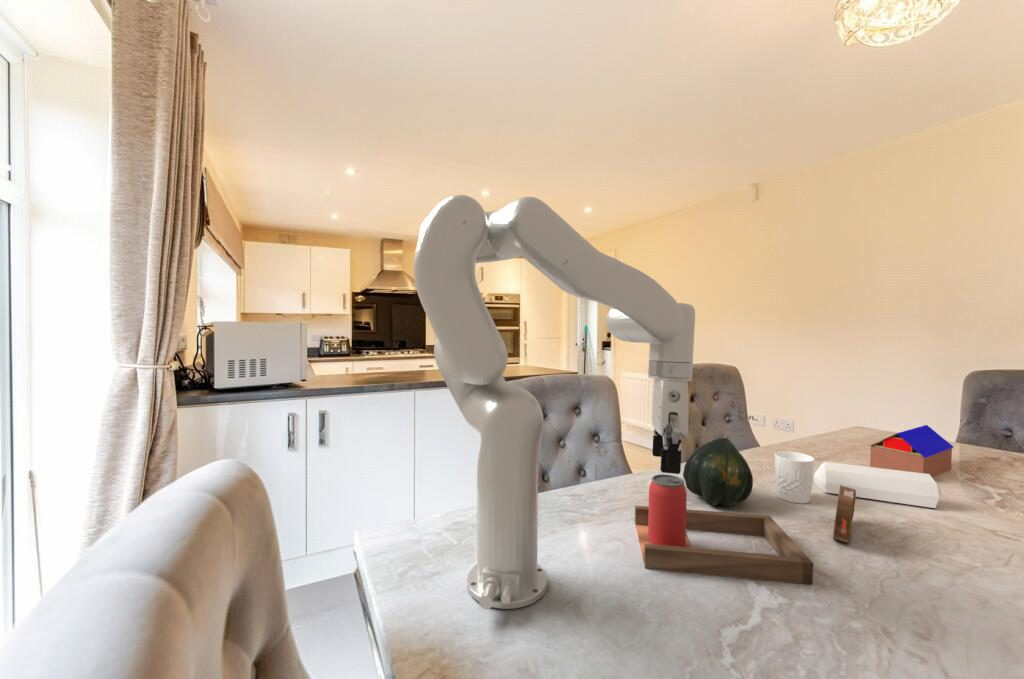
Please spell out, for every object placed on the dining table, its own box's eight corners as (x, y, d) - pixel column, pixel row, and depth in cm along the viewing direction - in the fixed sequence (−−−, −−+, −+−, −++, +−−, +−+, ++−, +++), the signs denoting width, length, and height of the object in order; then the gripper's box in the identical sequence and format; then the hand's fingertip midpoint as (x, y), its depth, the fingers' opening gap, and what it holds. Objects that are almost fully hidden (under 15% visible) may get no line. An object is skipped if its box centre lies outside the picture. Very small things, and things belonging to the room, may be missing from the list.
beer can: (688, 554, 77) (690, 487, 76) (649, 550, 78) (651, 484, 78) (682, 536, 83) (683, 474, 83) (646, 532, 85) (647, 472, 84)
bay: (812, 584, 69) (813, 563, 69) (645, 568, 73) (645, 547, 73) (768, 532, 86) (769, 515, 85) (634, 522, 90) (634, 505, 90)
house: (868, 469, 123) (869, 428, 123) (899, 458, 133) (900, 420, 132) (923, 483, 113) (925, 438, 112) (952, 470, 123) (954, 429, 122)
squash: (676, 484, 97) (725, 436, 94) (668, 464, 111) (711, 423, 109) (727, 532, 94) (779, 484, 92) (712, 506, 109) (757, 464, 106)
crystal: (818, 480, 104) (953, 498, 93) (813, 458, 109) (941, 473, 99) (814, 501, 107) (944, 521, 97) (810, 478, 113) (932, 495, 102)
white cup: (797, 491, 107) (799, 450, 106) (821, 504, 99) (823, 461, 98) (766, 491, 106) (767, 451, 106) (787, 505, 99) (789, 461, 98)
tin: (836, 518, 92) (837, 478, 92) (855, 522, 90) (856, 482, 90) (831, 546, 81) (832, 501, 80) (853, 552, 79) (854, 506, 78)
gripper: (704, 377, 70) (698, 482, 71) (681, 368, 87) (677, 452, 88) (655, 374, 71) (650, 477, 72) (642, 366, 88) (638, 449, 89)
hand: (665, 464), depth 80 cm, fingers open, 9 cm apart
